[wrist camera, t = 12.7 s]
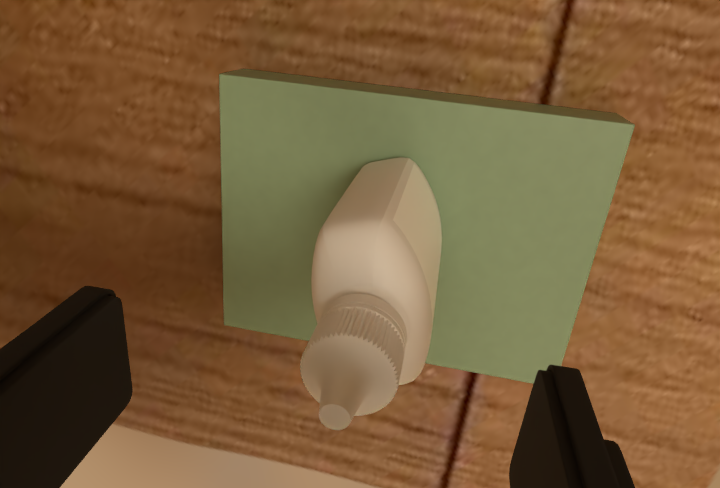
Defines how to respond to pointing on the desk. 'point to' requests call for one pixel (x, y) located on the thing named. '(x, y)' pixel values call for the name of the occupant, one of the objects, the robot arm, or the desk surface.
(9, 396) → the robot arm
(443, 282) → the board
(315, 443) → the desk surface
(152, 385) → the desk surface
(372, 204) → the eye dropper bottle
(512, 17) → the desk surface
